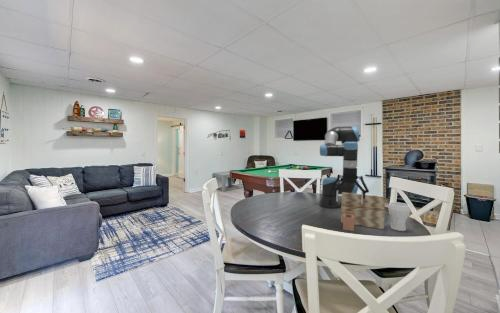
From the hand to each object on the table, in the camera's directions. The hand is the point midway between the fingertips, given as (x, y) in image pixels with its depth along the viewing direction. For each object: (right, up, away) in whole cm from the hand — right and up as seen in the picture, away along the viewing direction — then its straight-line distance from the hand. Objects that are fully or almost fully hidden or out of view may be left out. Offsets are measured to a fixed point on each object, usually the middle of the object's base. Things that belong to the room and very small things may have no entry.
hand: (349, 202), depth 129 cm
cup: (+30, -16, +1) cm, 34 cm away
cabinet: (+1, -16, +3) cm, 16 cm away
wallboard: (+11, -16, +8) cm, 21 cm away
